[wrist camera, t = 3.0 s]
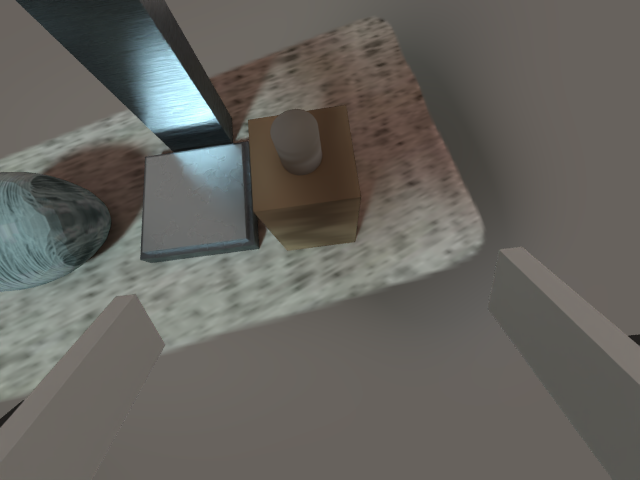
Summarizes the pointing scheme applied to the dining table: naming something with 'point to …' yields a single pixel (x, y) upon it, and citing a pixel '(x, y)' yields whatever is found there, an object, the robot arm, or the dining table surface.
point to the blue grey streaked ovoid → (46, 228)
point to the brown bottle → (305, 177)
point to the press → (165, 123)
